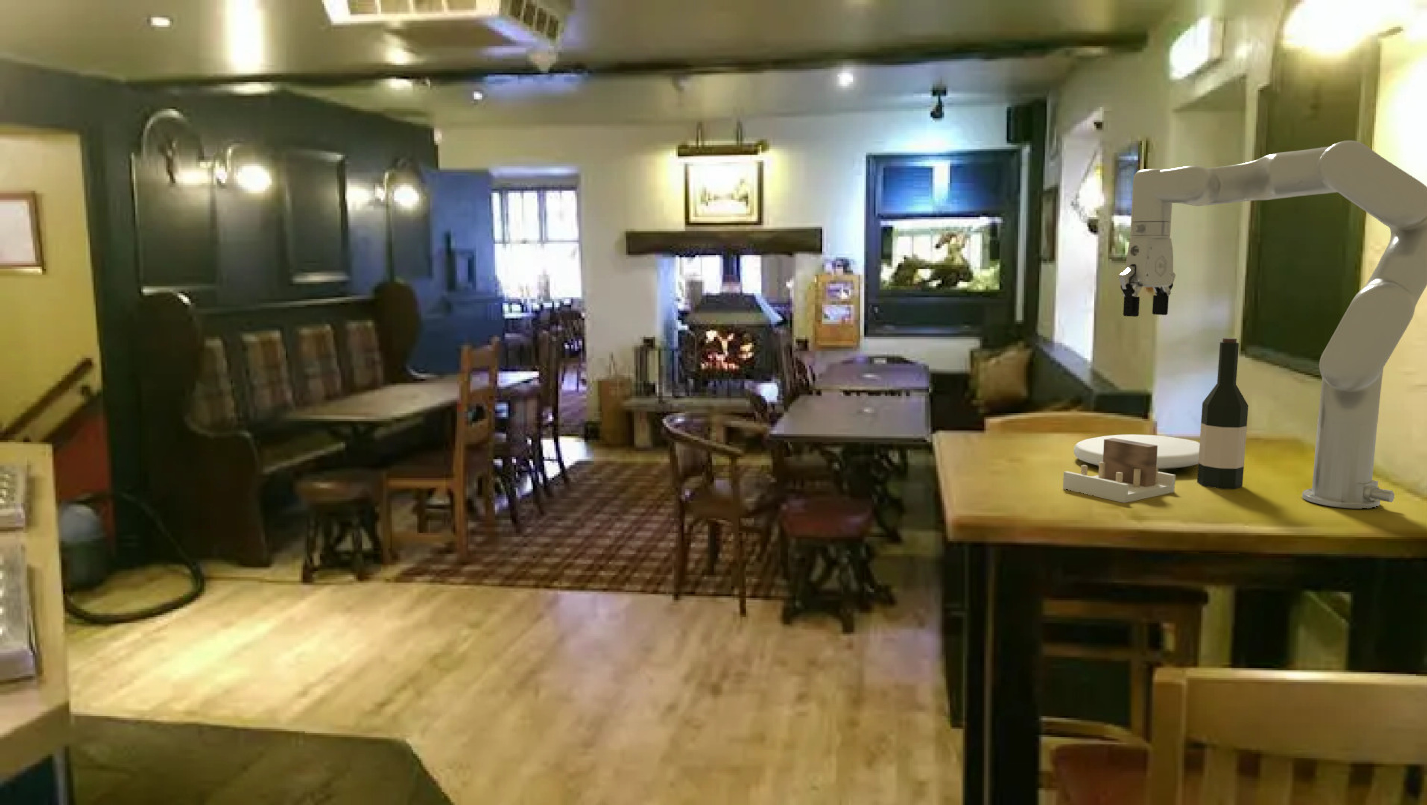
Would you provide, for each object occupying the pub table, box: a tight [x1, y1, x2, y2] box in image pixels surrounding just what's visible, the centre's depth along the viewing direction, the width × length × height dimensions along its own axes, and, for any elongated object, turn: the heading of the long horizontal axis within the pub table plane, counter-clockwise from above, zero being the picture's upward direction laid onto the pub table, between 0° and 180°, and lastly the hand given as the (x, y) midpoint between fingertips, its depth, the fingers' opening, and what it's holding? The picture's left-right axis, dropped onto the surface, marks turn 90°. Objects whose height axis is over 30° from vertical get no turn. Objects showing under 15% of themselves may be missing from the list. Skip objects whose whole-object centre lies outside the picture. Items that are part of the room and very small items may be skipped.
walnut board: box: [1103, 438, 1158, 487], centre depth 202 cm, size 10×3×8 cm, turn 33°
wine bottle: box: [1196, 337, 1249, 490], centre depth 205 cm, size 8×8×30 cm
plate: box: [1073, 434, 1200, 470], centre depth 227 cm, size 28×6×27 cm
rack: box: [1062, 462, 1176, 504], centre depth 201 cm, size 14×16×5 cm
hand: (1145, 315), depth 208 cm, fingers open, 9 cm apart
